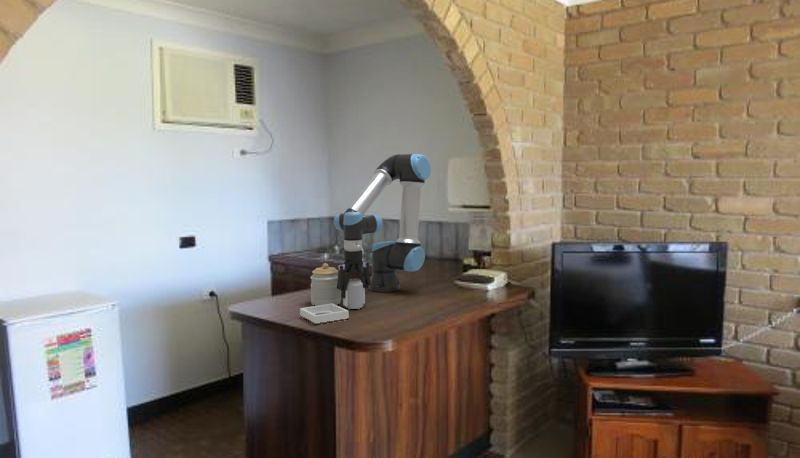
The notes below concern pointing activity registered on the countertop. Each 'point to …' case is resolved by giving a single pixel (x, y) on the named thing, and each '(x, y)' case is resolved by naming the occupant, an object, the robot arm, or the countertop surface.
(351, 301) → the can
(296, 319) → the countertop surface
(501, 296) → the countertop surface
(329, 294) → the jar
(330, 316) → the tray
